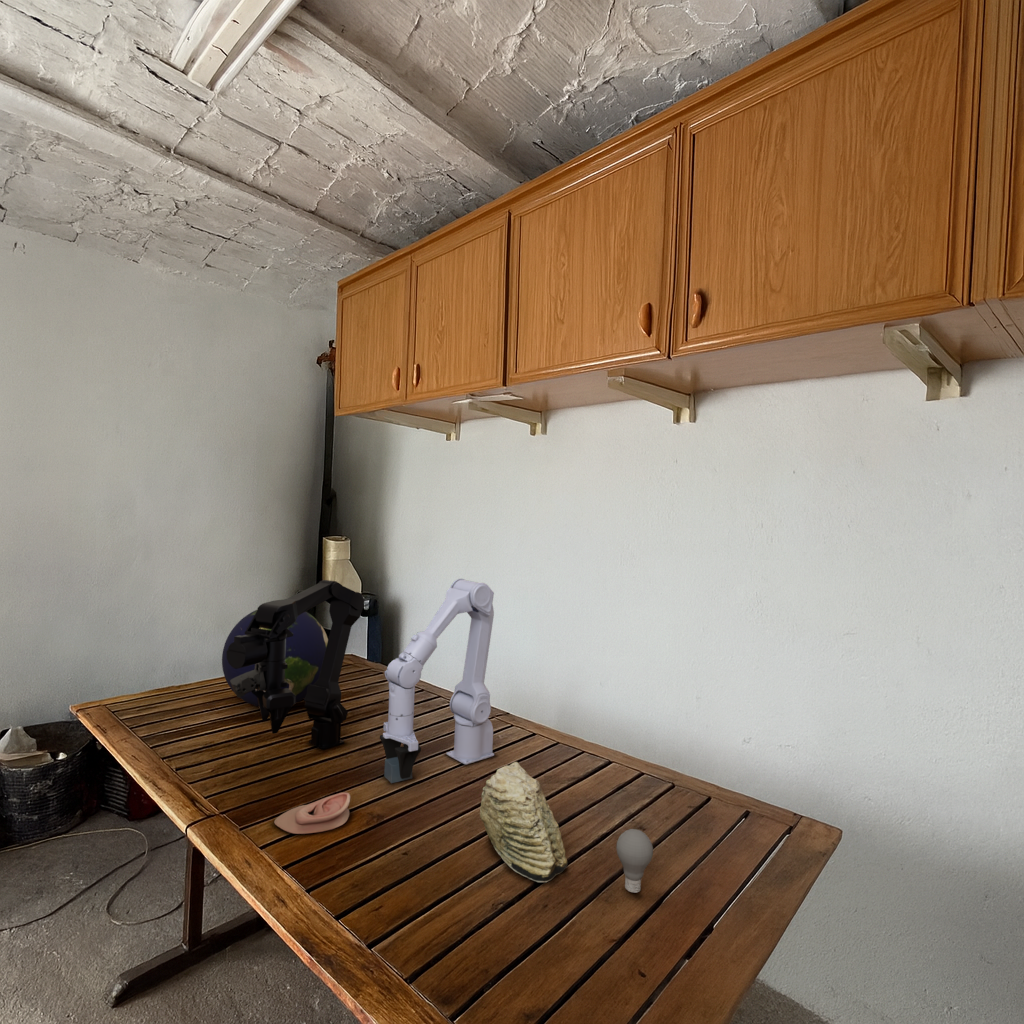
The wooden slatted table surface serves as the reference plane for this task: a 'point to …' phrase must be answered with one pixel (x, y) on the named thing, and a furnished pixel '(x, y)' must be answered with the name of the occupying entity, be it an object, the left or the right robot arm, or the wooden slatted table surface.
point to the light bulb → (634, 857)
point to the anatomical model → (316, 815)
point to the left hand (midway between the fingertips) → (269, 726)
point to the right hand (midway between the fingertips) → (398, 771)
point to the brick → (393, 770)
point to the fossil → (522, 824)
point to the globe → (287, 655)
